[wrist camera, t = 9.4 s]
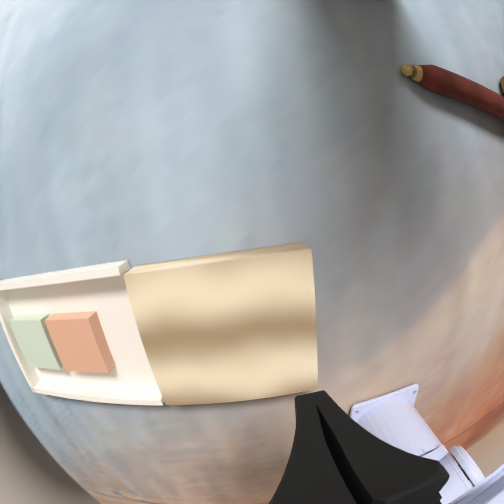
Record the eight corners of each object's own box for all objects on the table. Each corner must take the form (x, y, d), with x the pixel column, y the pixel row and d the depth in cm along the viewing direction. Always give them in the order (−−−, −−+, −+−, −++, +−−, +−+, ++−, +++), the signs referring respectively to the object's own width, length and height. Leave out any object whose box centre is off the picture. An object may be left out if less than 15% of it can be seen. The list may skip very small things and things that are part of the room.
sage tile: (28, 366, 18) (35, 358, 20) (60, 369, 18) (67, 361, 20) (8, 320, 17) (17, 314, 19) (40, 320, 17) (48, 313, 19)
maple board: (310, 370, 21) (317, 388, 19) (171, 386, 21) (165, 404, 19) (302, 242, 19) (311, 249, 17) (136, 265, 19) (123, 275, 16)
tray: (167, 390, 21) (163, 405, 19) (41, 382, 21) (33, 391, 19) (128, 259, 19) (117, 266, 17) (1, 279, 18) (-11, 285, 16)
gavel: (424, 117, 15) (401, 12, 13) (396, 128, 19) (381, 35, 17) (549, 164, 14) (534, 84, 12) (524, 164, 19) (512, 90, 17)
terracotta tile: (115, 363, 20) (109, 373, 19) (72, 362, 20) (65, 370, 18) (96, 310, 19) (88, 318, 18) (53, 313, 19) (44, 320, 17)
